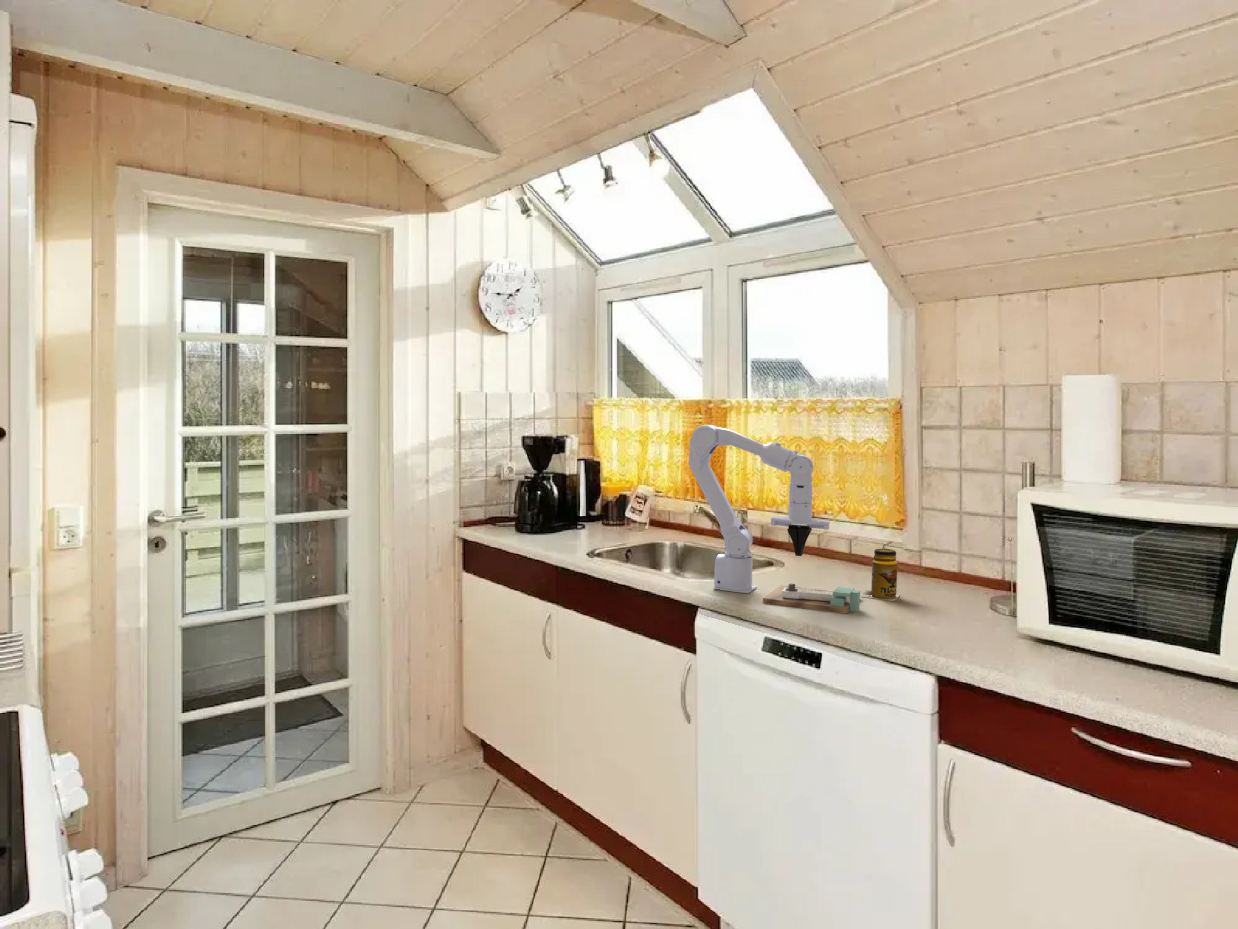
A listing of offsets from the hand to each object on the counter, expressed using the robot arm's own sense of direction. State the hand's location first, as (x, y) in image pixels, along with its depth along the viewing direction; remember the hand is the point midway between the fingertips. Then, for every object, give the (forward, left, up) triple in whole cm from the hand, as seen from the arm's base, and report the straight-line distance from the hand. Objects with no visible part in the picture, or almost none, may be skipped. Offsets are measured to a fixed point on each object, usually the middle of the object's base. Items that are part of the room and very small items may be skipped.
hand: (798, 555), depth 200 cm
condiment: (+19, +8, -10) cm, 23 cm away
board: (+5, -6, -10) cm, 13 cm away
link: (+6, -9, -8) cm, 14 cm away
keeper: (+14, -10, -10) cm, 20 cm away
